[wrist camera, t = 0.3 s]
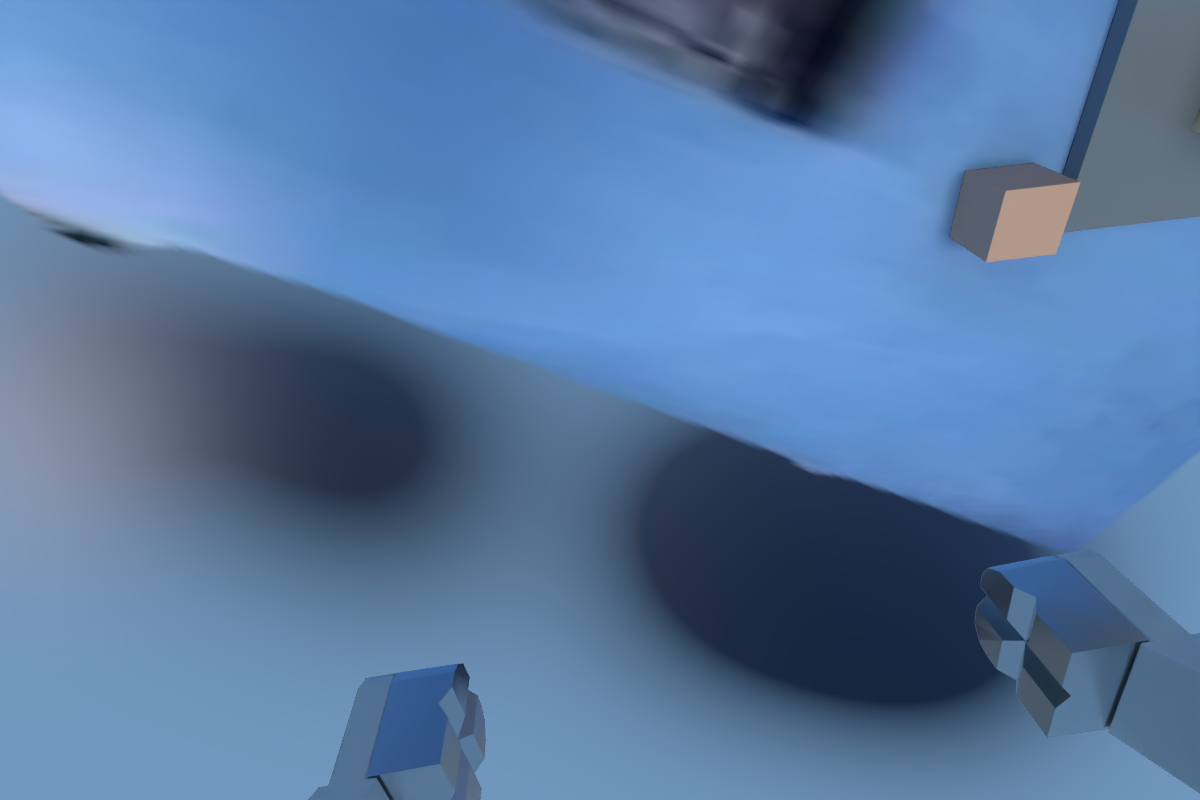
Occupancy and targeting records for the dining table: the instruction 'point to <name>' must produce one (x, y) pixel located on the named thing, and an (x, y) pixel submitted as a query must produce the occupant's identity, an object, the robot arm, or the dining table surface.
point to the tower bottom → (1196, 123)
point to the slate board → (1141, 121)
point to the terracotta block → (1012, 211)
